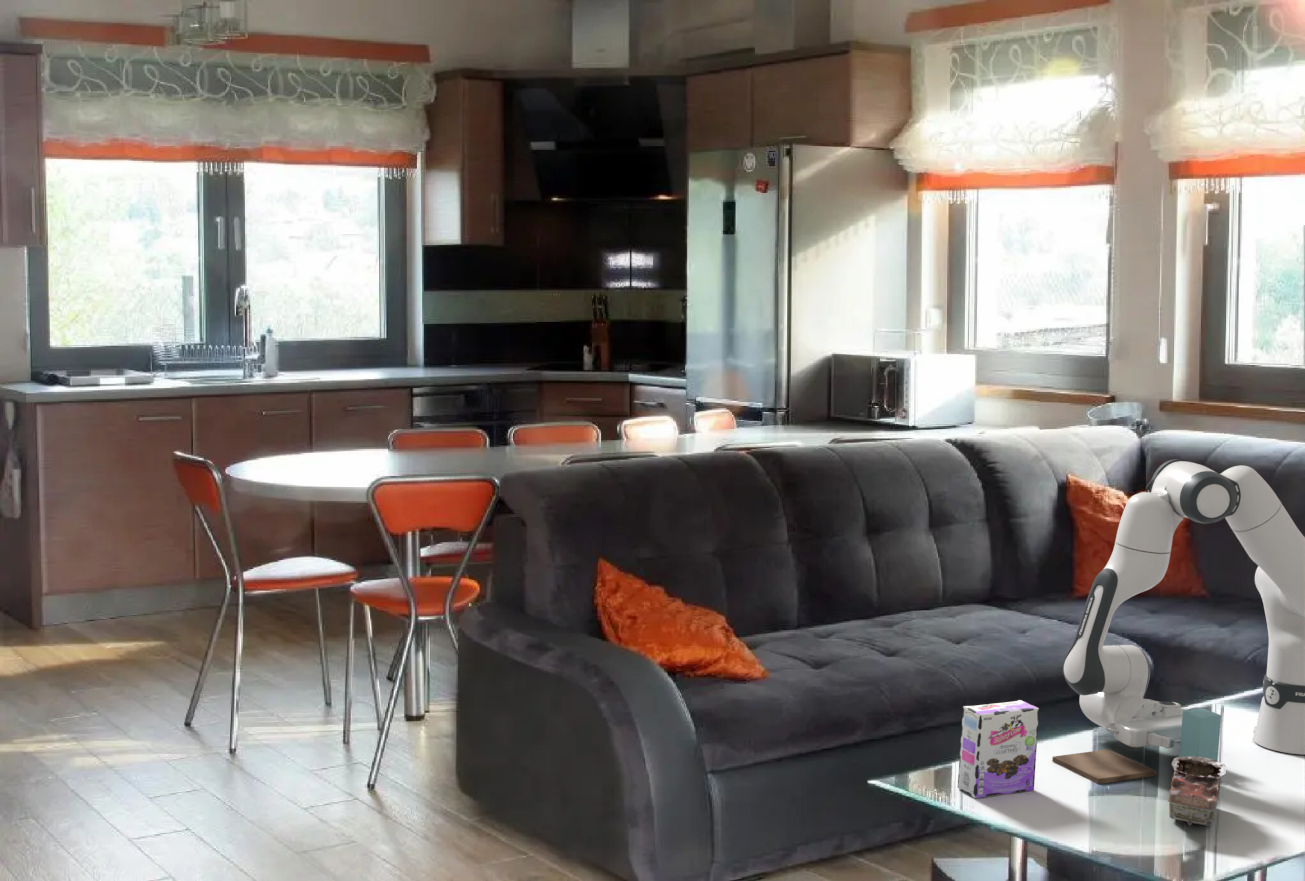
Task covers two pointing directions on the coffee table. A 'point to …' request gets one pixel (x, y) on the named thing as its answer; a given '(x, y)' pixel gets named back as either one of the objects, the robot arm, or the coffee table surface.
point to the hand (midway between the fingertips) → (1190, 741)
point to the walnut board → (1103, 766)
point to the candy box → (998, 748)
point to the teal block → (1200, 734)
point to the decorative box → (1195, 789)
